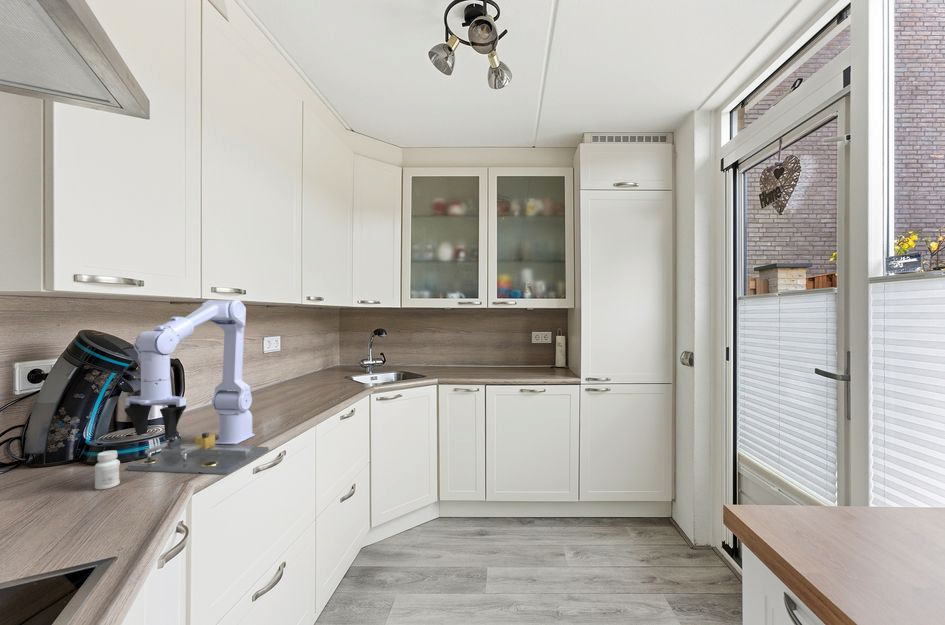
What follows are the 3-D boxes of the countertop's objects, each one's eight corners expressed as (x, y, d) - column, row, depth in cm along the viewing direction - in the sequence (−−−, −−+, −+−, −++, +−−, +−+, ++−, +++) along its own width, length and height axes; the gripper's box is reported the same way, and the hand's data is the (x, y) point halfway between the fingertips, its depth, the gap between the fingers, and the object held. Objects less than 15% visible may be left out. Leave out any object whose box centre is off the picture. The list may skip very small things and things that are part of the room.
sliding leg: (205, 449, 115) (205, 431, 115) (215, 449, 114) (215, 431, 114) (177, 462, 105) (177, 442, 105) (187, 462, 105) (187, 442, 105)
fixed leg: (172, 448, 116) (172, 436, 116) (180, 448, 115) (180, 436, 115) (142, 460, 106) (142, 447, 106) (151, 460, 106) (151, 447, 106)
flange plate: (182, 448, 121) (182, 443, 121) (268, 451, 118) (268, 446, 118) (128, 470, 104) (128, 464, 104) (227, 474, 101) (227, 468, 101)
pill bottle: (125, 482, 97) (125, 449, 97) (106, 490, 92) (106, 456, 92) (108, 481, 97) (108, 449, 97) (89, 489, 93) (89, 455, 93)
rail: (166, 451, 115) (166, 445, 115) (250, 454, 112) (250, 448, 112) (160, 453, 113) (160, 447, 113) (245, 456, 111) (245, 450, 111)
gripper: (113, 381, 98) (113, 438, 98) (169, 383, 96) (169, 440, 96) (140, 377, 105) (140, 430, 105) (192, 378, 103) (192, 431, 103)
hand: (156, 434), depth 101 cm, fingers open, 7 cm apart
